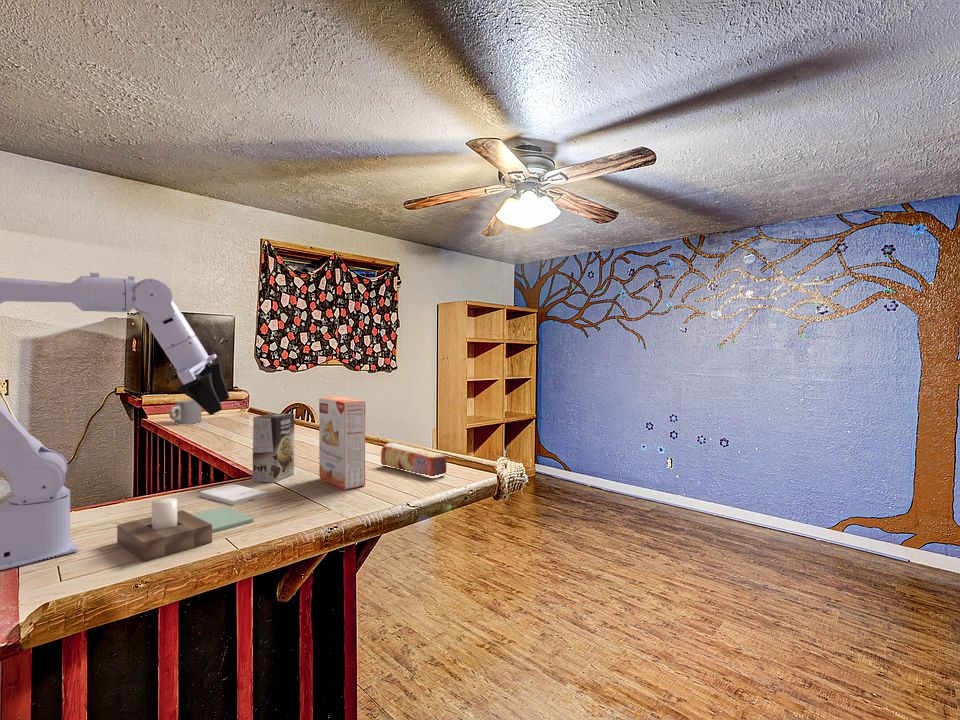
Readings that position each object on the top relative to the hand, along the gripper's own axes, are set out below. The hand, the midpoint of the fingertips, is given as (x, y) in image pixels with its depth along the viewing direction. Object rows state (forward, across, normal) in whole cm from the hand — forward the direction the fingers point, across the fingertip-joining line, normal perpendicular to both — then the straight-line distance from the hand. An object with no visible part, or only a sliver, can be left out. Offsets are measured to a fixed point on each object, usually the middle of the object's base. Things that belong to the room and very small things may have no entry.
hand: (220, 406), depth 93 cm
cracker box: (+33, +17, -9) cm, 39 cm away
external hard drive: (+22, +12, +12) cm, 28 cm away
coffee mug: (+25, +133, +56) cm, 147 cm away
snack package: (+44, +24, -25) cm, 56 cm away
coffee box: (+28, +27, +7) cm, 39 cm away
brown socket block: (+15, -13, +15) cm, 25 cm away
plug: (+15, -13, +15) cm, 25 cm away
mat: (+19, -4, +10) cm, 22 cm away
